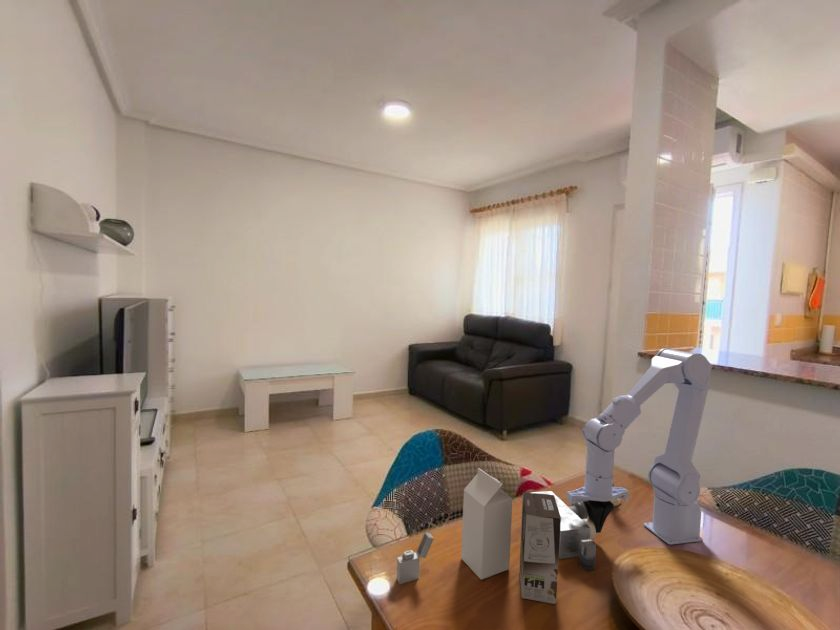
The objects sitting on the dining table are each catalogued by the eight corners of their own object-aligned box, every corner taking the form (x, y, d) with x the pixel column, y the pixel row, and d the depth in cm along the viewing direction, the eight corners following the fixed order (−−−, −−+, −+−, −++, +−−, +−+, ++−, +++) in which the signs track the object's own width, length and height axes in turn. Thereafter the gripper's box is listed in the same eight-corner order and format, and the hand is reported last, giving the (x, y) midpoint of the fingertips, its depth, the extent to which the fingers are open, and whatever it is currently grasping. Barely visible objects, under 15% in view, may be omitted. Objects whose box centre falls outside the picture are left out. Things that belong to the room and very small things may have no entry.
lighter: (399, 584, 76) (400, 544, 75) (396, 578, 77) (397, 538, 77) (432, 574, 79) (434, 535, 78) (428, 568, 80) (430, 530, 80)
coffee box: (557, 605, 72) (562, 519, 71) (520, 598, 73) (524, 514, 72) (551, 571, 81) (555, 494, 80) (518, 565, 82) (522, 490, 81)
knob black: (577, 514, 101) (578, 498, 100) (587, 523, 97) (588, 507, 96) (550, 516, 99) (551, 501, 99) (559, 525, 95) (560, 509, 95)
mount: (550, 514, 102) (551, 490, 101) (588, 555, 86) (590, 527, 86) (524, 516, 100) (525, 492, 100) (559, 558, 85) (561, 530, 84)
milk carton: (481, 581, 77) (484, 486, 76) (460, 558, 84) (464, 471, 83) (509, 570, 81) (513, 479, 80) (488, 549, 87) (491, 465, 86)
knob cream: (584, 531, 93) (585, 515, 93) (595, 542, 89) (596, 525, 89) (555, 534, 92) (556, 517, 91) (564, 545, 88) (565, 528, 87)
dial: (589, 560, 84) (590, 535, 84) (598, 570, 82) (599, 544, 81) (576, 562, 84) (577, 536, 84) (584, 572, 81) (586, 545, 81)
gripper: (614, 463, 96) (611, 517, 97) (560, 466, 93) (557, 522, 94) (636, 476, 89) (632, 535, 90) (578, 481, 86) (575, 541, 87)
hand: (595, 530), depth 91 cm, fingers closed
